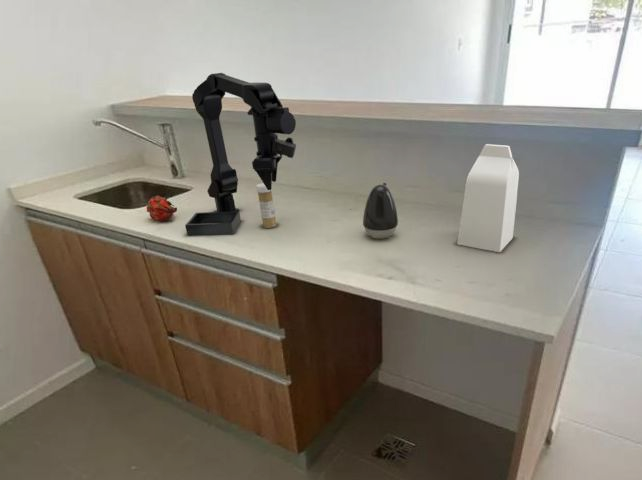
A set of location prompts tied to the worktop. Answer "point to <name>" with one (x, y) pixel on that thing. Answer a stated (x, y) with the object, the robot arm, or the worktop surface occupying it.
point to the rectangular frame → (213, 223)
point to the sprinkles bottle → (266, 206)
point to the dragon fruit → (160, 208)
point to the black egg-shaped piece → (380, 213)
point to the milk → (490, 200)
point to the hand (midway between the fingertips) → (272, 185)
